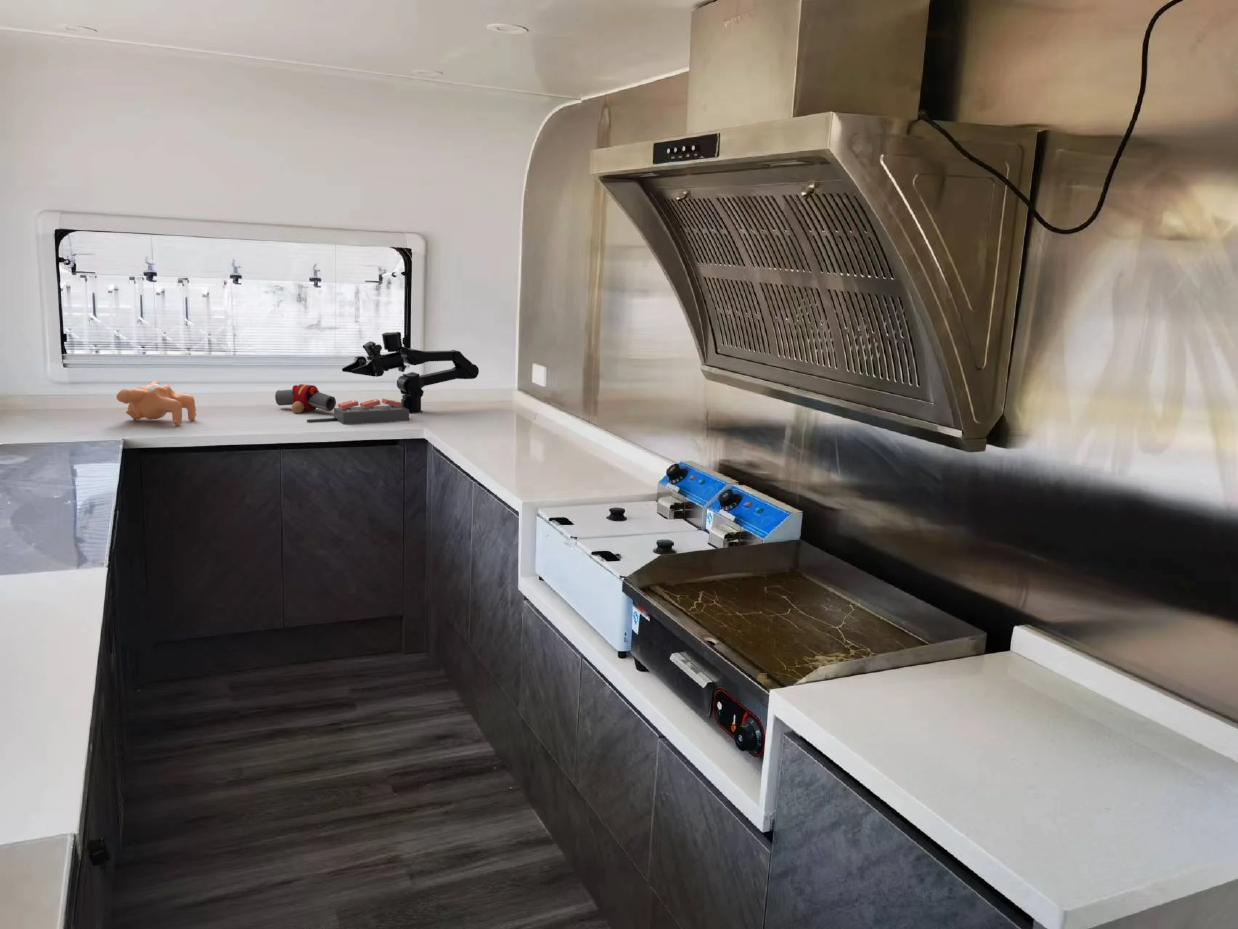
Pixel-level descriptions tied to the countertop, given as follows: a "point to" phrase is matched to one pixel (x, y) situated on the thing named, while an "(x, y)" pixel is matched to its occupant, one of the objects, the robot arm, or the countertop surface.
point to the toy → (305, 399)
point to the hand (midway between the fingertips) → (347, 370)
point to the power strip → (368, 415)
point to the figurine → (157, 402)
